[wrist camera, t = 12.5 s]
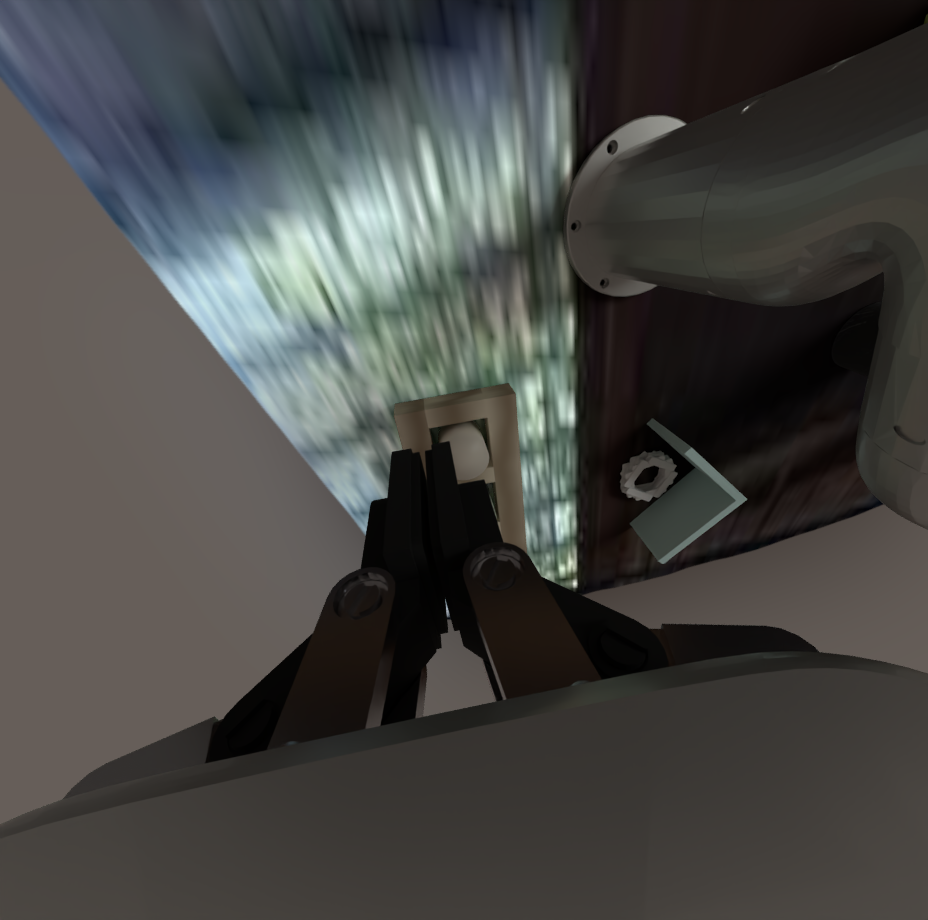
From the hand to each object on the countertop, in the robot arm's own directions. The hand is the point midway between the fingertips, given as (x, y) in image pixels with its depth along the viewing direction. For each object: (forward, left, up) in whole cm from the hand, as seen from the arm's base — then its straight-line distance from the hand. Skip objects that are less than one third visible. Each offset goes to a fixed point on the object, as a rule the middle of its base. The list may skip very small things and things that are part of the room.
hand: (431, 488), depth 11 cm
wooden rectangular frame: (-2, +21, -27) cm, 34 cm away
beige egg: (-2, +13, -27) cm, 30 cm away
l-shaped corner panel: (-24, +24, -28) cm, 44 cm away
